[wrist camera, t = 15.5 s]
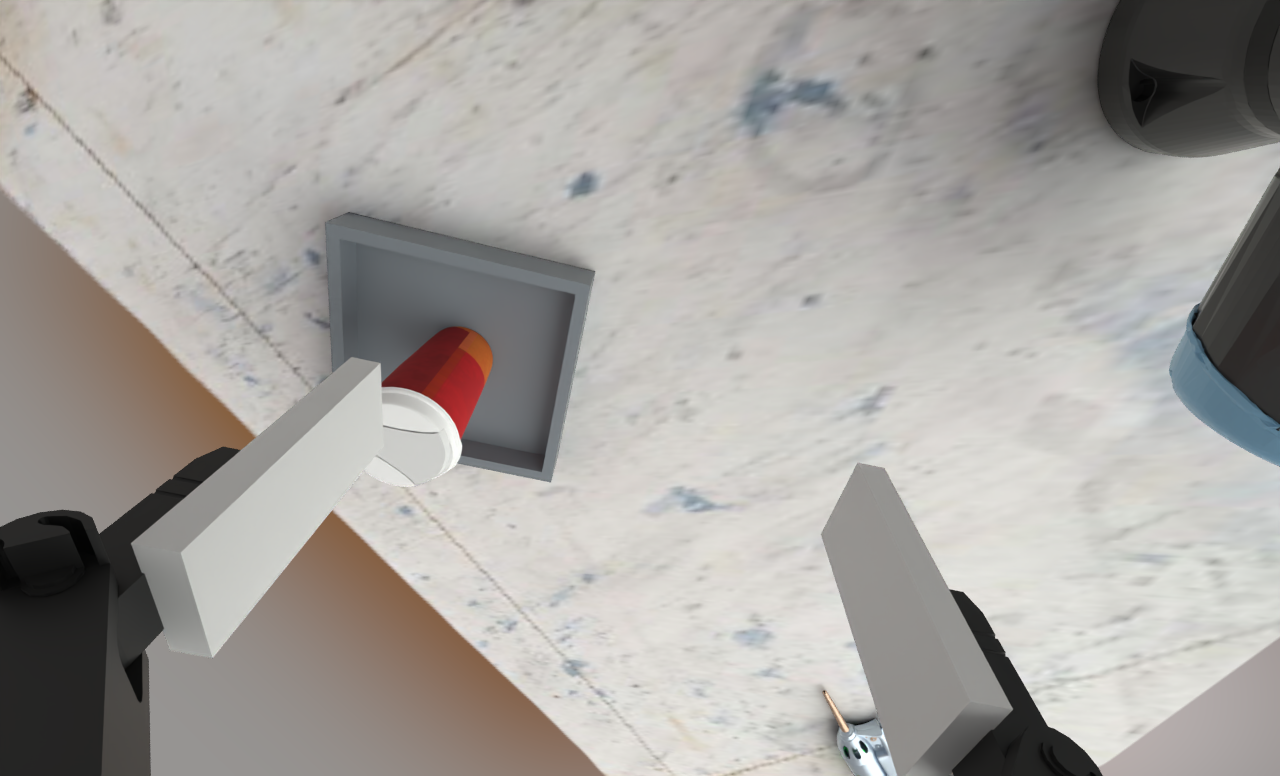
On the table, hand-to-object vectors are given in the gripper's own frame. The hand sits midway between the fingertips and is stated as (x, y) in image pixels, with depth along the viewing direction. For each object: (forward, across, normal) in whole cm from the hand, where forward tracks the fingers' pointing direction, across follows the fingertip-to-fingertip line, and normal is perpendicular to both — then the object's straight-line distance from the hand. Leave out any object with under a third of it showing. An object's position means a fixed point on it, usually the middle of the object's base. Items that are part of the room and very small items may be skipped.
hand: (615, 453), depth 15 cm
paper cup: (+30, -14, -15) cm, 37 cm away
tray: (+31, -14, -15) cm, 37 cm away
